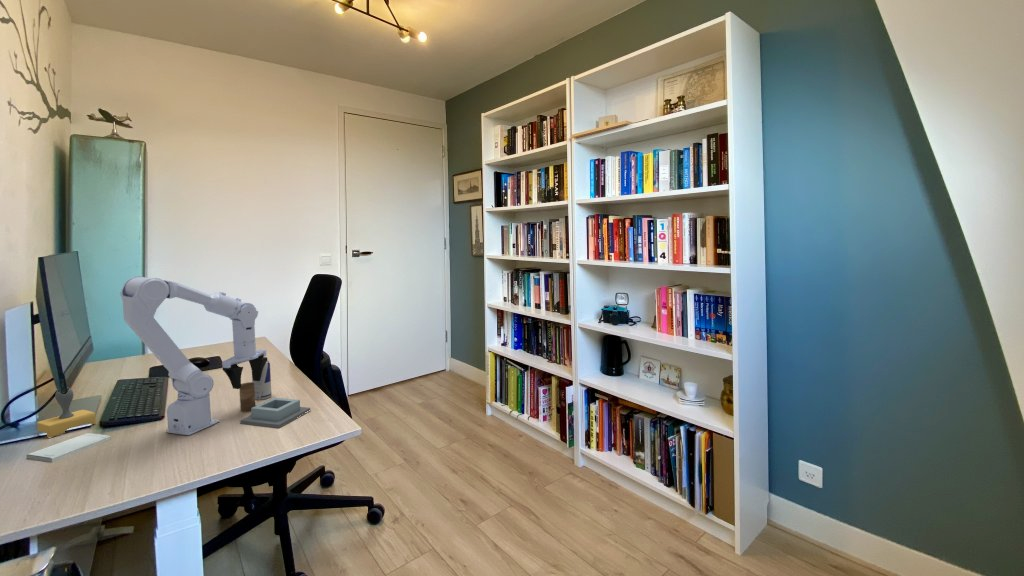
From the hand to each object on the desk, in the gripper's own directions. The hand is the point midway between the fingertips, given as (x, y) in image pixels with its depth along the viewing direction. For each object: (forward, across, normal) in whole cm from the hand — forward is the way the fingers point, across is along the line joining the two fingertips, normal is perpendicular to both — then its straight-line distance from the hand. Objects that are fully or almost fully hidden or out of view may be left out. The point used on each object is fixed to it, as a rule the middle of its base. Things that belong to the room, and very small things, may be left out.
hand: (247, 384), depth 134 cm
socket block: (+8, -3, -13) cm, 16 cm away
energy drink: (+8, +10, +4) cm, 13 cm away
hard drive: (+9, -32, +22) cm, 40 cm away
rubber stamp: (+8, -24, +36) cm, 44 cm away
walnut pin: (+8, 0, 0) cm, 8 cm away
